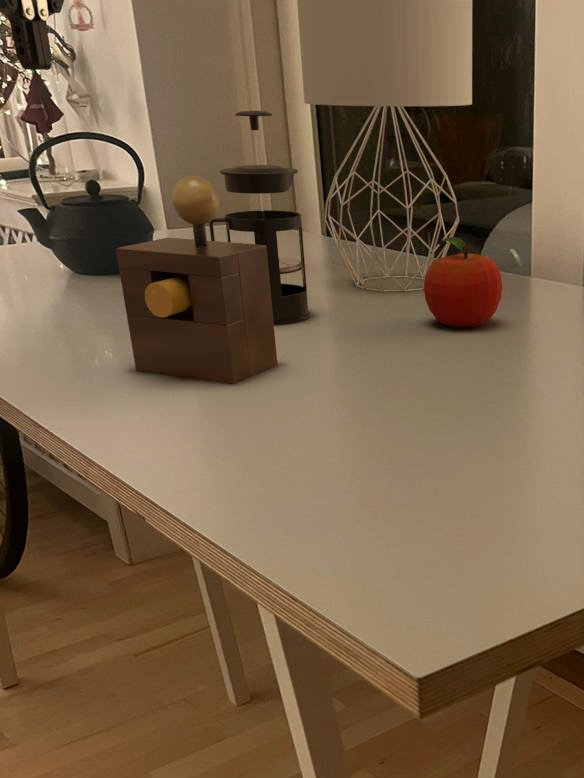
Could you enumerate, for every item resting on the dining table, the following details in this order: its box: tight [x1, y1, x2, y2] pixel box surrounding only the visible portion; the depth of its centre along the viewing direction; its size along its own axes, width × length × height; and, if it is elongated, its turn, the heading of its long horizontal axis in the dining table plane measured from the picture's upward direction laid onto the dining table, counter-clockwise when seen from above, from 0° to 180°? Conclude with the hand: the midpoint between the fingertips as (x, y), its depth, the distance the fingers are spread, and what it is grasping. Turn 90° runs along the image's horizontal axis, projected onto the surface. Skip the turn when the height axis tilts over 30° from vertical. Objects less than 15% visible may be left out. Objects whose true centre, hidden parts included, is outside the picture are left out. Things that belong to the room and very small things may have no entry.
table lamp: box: [296, 0, 473, 292], centre depth 134 cm, size 22×22×40 cm
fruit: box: [423, 236, 503, 329], centre depth 119 cm, size 10×10×10 cm
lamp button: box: [145, 278, 191, 317], centre depth 95 cm, size 3×3×3 cm
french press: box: [208, 110, 311, 326], centre depth 118 cm, size 12×9×23 cm
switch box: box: [115, 175, 278, 385], centre depth 98 cm, size 8×12×18 cm, turn 67°
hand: (36, 69), depth 90 cm, fingers closed
